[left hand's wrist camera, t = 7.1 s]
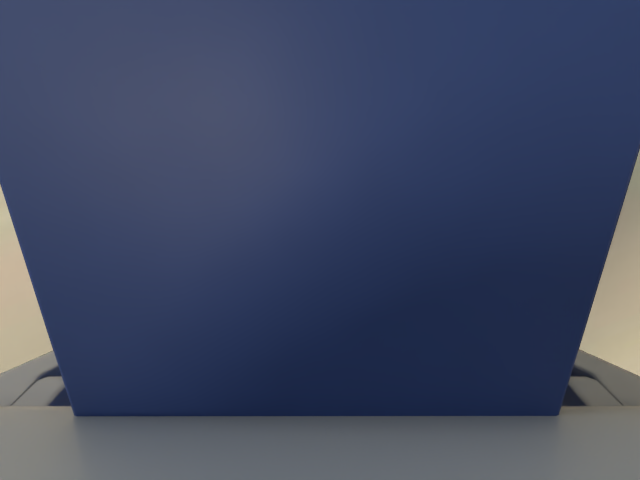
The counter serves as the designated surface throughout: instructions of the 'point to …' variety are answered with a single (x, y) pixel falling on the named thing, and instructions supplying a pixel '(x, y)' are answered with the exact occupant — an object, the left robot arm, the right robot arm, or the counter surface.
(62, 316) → the box
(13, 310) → the counter surface
